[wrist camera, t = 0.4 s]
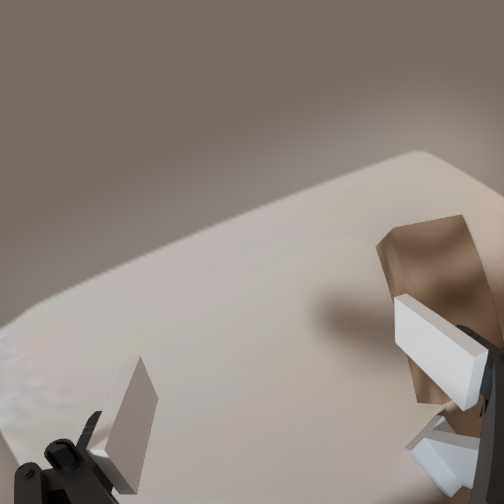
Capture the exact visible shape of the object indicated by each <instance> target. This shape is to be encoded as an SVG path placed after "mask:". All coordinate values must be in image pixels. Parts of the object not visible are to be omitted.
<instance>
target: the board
mask: <svg viewBox="0 0 504 504" xmlns="http://www.w3.org/2000/svg"><path fill="white" fill-rule="evenodd" d="M479 443H480V438H476V437H470V436H464V435H458V434H456V433H455V431H454V430H453V429H452V427H451V426H450V425H449V423H448V422H447V421H446V419H445V418H444V417H443V416H439V415H436V416H435V417H434V418H433V419H432V420H431V421H430V422H429V423H428V425H427V426H426V427H425V428H424V429H423V430H422V431H421V432H420V433H419V434H418V435H417V436H416V438H415V439H414V440H413V441H412V442H411V443H410V444H409V445H408V446H407V447H406V448H405V449H406V450H407V451H408V452H409V453H410V455H411V456H412V457H413V458H414V459H415V461H416V462H417V463H418V464H419V465H420V466H421V468H422V469H423V470H424V471H425V472H426V473H427V475H428V476H429V477H430V478H431V479H432V481H433V482H434V483H435V484H436V485H437V486H438V488H439V489H440V490H441V491H442V492H443V493H444V495H446V496H448V497H452V496H453V495H454V494H455V493H456V492H457V491H458V490H459V489H460V487H461V486H465V487H467V488H470V489H472V487H473V482H474V476H475V471H476V465H477V458H478V451H479Z"/></svg>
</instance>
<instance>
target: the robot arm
mask: <svg viewBox="0 0 504 504" xmlns="http://www.w3.org/2000/svg"><path fill="white" fill-rule="evenodd" d="M394 308H395V343H396V344H397V345H398V346H399V347H400V348H401V349H402V350H403V351H404V352H405V353H406V354H407V355H408V356H409V357H410V358H411V359H412V360H413V361H414V362H415V363H416V364H417V365H418V366H419V367H420V368H421V369H422V370H423V371H424V372H425V373H426V374H427V375H428V376H429V377H430V378H431V379H432V380H433V381H434V382H435V383H436V384H437V385H438V386H439V387H440V388H441V389H442V390H443V391H444V392H445V393H446V394H447V395H448V396H449V397H450V398H451V399H452V400H453V401H454V402H455V403H456V404H457V405H458V406H459V408H460V409H461V410H462V411H465V410H467V409H469V408H471V407H472V406H474V405H476V404H477V401H478V397H479V393H480V394H482V395H483V396H484V397H485V398H484V402H483V406H482V409H481V413H480V416H479V417H482V425H481V435H480V443H479V451H478V458H477V465H476V471H475V476H474V482H473V487H472V492H471V496H470V501H469V504H504V347H502V348H498V347H496V346H495V345H494V344H492V343H491V342H489V341H488V340H486V339H485V338H483V337H481V336H480V335H479V334H477V333H475V331H473V330H472V329H470V328H469V327H466V326H463V325H459V324H458V325H456V326H454V325H452V324H451V323H449V322H448V321H447V320H445V319H444V318H442V317H441V316H439V315H438V314H436V313H435V312H433V311H432V310H430V309H429V308H427V307H426V306H424V305H423V304H421V303H420V302H418V301H417V300H415V299H414V298H412V297H411V296H409V295H408V294H403V295H400V296H397V297H394ZM157 401H158V397H157V394H156V392H155V390H154V388H153V385H152V383H151V381H150V378H149V376H148V373H147V371H146V369H145V366H144V364H143V361H142V359H141V356H136V357H129V358H126V361H125V363H124V365H123V367H122V369H121V371H120V373H119V375H118V378H117V380H116V382H115V384H114V386H113V388H112V391H111V393H110V395H109V397H108V399H107V402H106V404H105V406H104V408H103V411H96V412H95V413H94V414H93V415H92V416H91V417H90V418H89V419H88V421H87V423H86V425H85V428H84V429H83V432H82V434H81V436H80V438H79V440H78V443H77V445H76V447H75V445H74V444H73V442H72V441H70V440H68V439H58V440H55V441H53V442H52V443H50V444H49V445H48V446H47V448H46V449H45V452H44V455H45V458H46V459H47V460H48V462H49V463H50V464H51V466H52V467H53V468H52V469H46V470H42V469H41V468H40V467H39V466H38V465H37V464H36V463H33V462H29V463H25V464H23V465H21V466H20V467H19V468H18V469H17V471H16V473H15V483H14V504H119V503H118V501H117V500H116V499H115V497H114V496H113V495H112V494H111V492H112V488H113V487H114V488H115V489H116V490H117V491H118V493H119V494H135V495H137V491H138V486H139V482H140V477H141V472H142V467H143V462H144V458H145V453H146V449H147V444H148V440H149V435H150V431H151V427H152V422H153V418H154V414H155V410H156V405H157Z"/></svg>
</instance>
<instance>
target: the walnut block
mask: <svg viewBox="0 0 504 504" xmlns="http://www.w3.org/2000/svg"><path fill="white" fill-rule="evenodd" d="M376 250H377V252H378V255H379V258H380V261H381V264H382V268H383V271H384V274H385V277H386V280H387V283H388V287H389V290H390V293H391V297H392V300H393V303H394V297H397V296H400V295H403V294H408V295H409V296H411V297H412V298H414V299H415V300H417V301H418V302H420V303H421V304H423V305H424V306H426V307H427V308H429V309H430V310H432V311H433V312H435V313H436V314H438V315H439V316H441V317H442V318H444V319H445V320H447V321H448V322H449V323H451V324H452V325H454V326H456V325H458V324H459V325H463V326H466V327H469V328H470V329H472V330H473V331H475V333H477V334H479V335H480V336H481V337H483V338H485V339H486V340H488V341H489V342H491V343H492V344H494V345H495V346H496V347H498V348H502V347H504V343H503V338H502V334H501V329H500V325H499V321H498V317H497V314H496V310H495V306H494V303H493V299H492V296H491V292H490V289H489V286H488V283H487V280H486V276H485V273H484V270H483V268H482V265H481V262H480V259H479V256H478V253H477V251H476V248H475V245H474V243H473V240H472V238H471V235H470V232H469V230H468V228H467V225H466V223H465V220H464V218H463V216H462V215H457V216H452V217H447V218H442V219H436V220H431V221H426V222H421V223H416V224H411V225H406V226H401V227H395V228H393V229H392V230H391V231H390V232H389V233H388V234H387V235H386V236H385V237H384V238H383V239H382V241H381V242H380V243H379V244H378V245H377V246H376ZM407 356H408V355H407ZM408 361H409V365H410V369H411V374H412V378H413V383H414V388H415V393H416V398H417V403H428V404H439V405H443V404H445V403H447V402H449V401H451V400H452V399H451V398H450V397H449V396H448V395H447V394H446V393H445V392H444V391H443V390H442V389H441V388H440V387H439V386H438V385H437V384H436V383H435V382H434V381H433V380H432V379H431V378H430V377H429V376H428V375H427V374H426V373H425V372H424V371H423V370H422V369H421V368H420V367H419V366H418V365H417V364H416V363H415V362H414V361H413V360H412V359H411V358H410V357H409V356H408Z"/></svg>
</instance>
